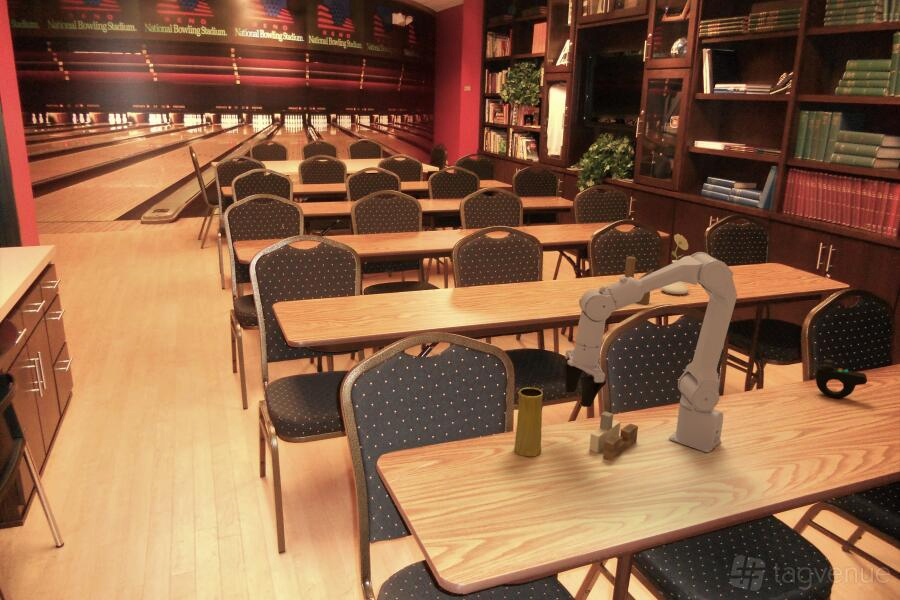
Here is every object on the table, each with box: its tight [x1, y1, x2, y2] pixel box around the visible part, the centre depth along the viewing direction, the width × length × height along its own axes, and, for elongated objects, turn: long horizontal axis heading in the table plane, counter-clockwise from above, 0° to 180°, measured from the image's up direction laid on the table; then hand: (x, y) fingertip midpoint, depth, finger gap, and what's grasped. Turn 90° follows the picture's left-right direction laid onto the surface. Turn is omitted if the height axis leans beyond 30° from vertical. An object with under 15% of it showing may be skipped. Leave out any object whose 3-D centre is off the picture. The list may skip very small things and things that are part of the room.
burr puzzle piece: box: [589, 410, 621, 453], centre depth 153 cm, size 10×2×8 cm, turn 138°
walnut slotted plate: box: [602, 423, 639, 461], centre depth 150 cm, size 12×2×4 cm, turn 138°
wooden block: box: [624, 256, 654, 306], centre depth 267 cm, size 4×11×18 cm, turn 54°
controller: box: [813, 359, 868, 399], centre depth 180 cm, size 4×12×10 cm, turn 58°
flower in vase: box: [660, 233, 690, 295], centre depth 282 cm, size 13×11×25 cm
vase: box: [513, 387, 544, 458], centre depth 148 cm, size 6×6×14 cm
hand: (578, 398), depth 152 cm, fingers open, 7 cm apart
